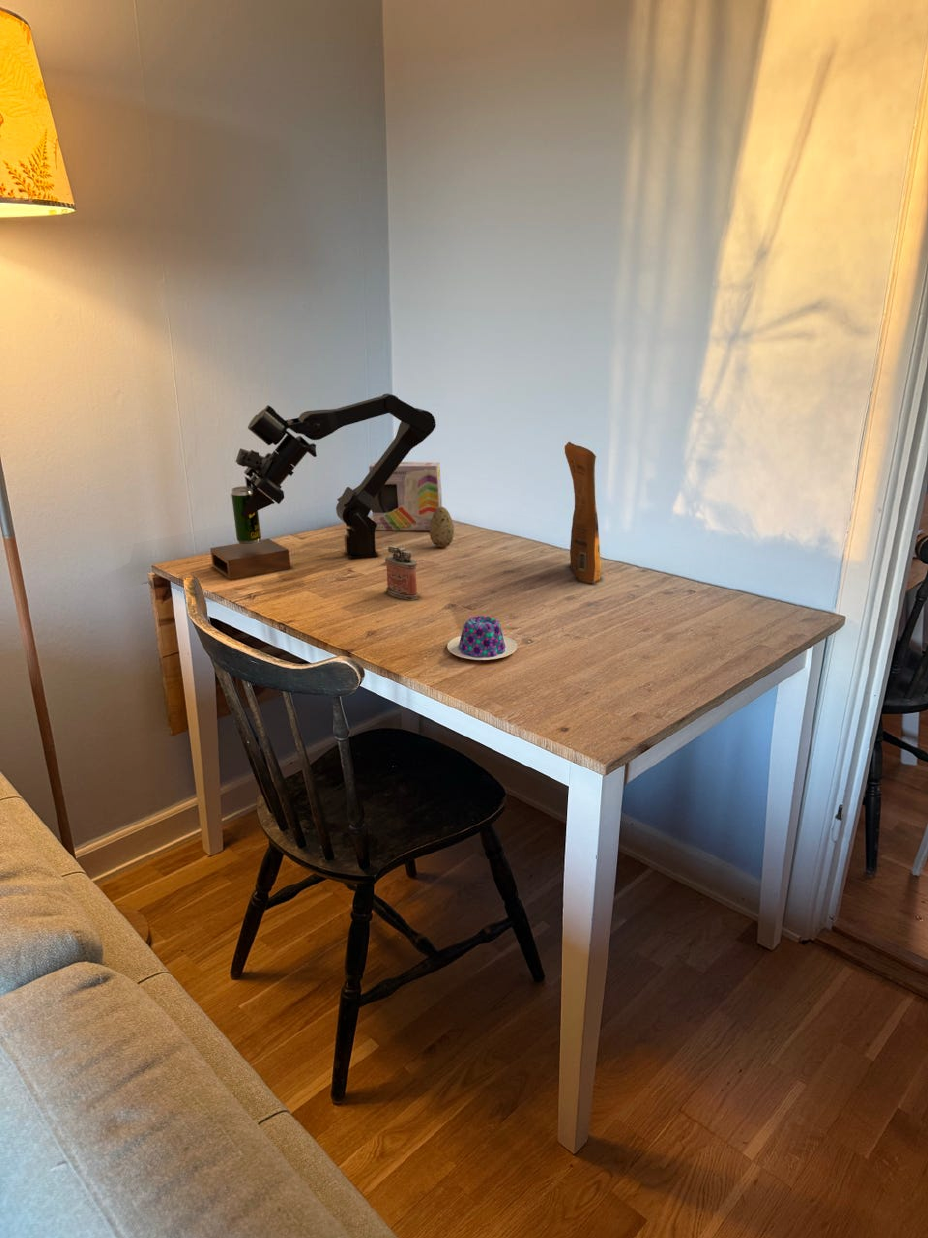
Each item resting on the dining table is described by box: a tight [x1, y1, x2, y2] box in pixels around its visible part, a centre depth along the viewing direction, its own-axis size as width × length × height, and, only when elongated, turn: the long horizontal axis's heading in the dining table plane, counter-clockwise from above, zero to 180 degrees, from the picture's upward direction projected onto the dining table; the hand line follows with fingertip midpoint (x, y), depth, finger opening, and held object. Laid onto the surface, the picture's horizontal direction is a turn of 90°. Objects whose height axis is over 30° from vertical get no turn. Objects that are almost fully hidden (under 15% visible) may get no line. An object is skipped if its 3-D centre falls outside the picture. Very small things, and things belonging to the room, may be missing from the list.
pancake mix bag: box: [564, 441, 602, 585], centre depth 177 cm, size 7×19×28 cm, turn 3°
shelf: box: [210, 538, 291, 581], centre depth 187 cm, size 14×12×4 cm
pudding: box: [446, 615, 518, 661], centre depth 141 cm, size 12×12×5 cm
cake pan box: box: [368, 461, 443, 531], centre depth 216 cm, size 19×5×18 cm, turn 80°
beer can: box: [230, 485, 262, 544], centre depth 184 cm, size 5×5×12 cm
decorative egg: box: [429, 506, 455, 548], centre depth 201 cm, size 6×6×10 cm
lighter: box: [384, 545, 419, 601], centre depth 167 cm, size 8×3×10 cm, turn 47°
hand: (239, 513), depth 183 cm, fingers closed on beer can, 5 cm apart
